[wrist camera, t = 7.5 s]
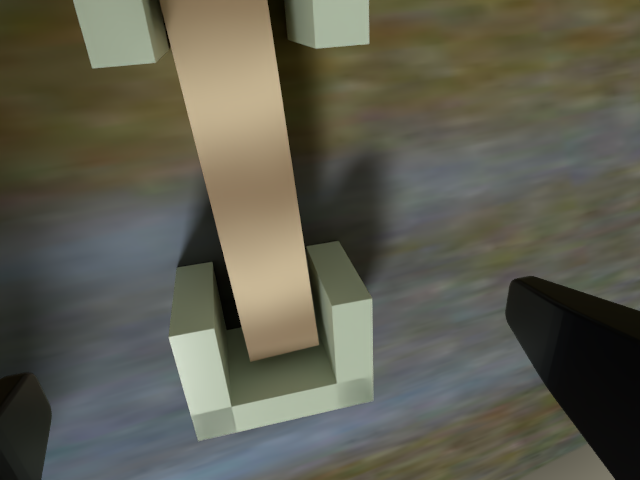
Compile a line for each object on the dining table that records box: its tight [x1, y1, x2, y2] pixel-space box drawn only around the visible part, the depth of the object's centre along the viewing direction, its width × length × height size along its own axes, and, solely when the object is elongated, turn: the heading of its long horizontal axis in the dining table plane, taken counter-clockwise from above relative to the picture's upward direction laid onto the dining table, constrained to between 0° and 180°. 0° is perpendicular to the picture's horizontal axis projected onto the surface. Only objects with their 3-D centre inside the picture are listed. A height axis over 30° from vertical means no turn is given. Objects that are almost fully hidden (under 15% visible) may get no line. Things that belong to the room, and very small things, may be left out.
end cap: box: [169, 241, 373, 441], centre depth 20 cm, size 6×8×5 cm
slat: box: [159, 0, 319, 362], centre depth 17 cm, size 15×3×4 cm, turn 7°
